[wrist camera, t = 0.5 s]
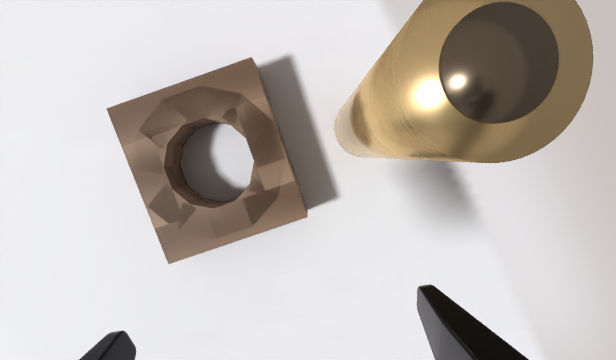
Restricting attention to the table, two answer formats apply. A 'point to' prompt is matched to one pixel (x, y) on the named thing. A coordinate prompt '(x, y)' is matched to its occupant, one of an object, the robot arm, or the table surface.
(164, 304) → the table surface
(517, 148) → the bronze sleeve
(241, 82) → the jig plate
